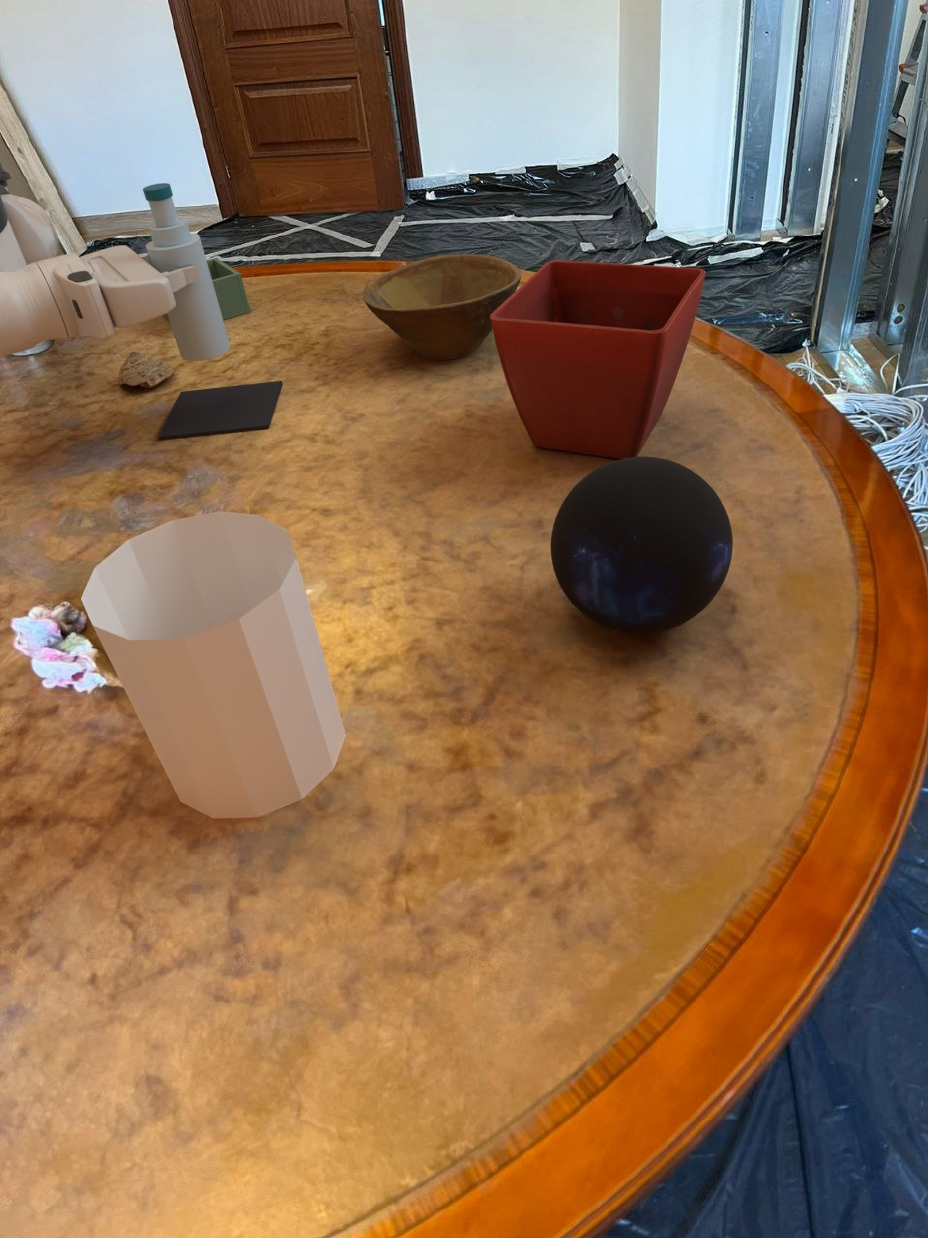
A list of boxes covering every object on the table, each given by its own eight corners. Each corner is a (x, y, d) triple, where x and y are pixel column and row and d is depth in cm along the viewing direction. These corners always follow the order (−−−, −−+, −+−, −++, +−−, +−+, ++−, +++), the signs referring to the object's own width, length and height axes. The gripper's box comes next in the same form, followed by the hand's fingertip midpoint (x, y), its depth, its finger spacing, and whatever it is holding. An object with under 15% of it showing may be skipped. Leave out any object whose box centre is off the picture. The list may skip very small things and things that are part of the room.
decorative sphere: (548, 668, 73) (541, 522, 64) (558, 564, 84) (553, 426, 75) (731, 672, 71) (752, 521, 61) (716, 564, 82) (731, 421, 72)
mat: (158, 440, 114) (157, 437, 114) (181, 394, 125) (180, 391, 125) (268, 428, 114) (268, 425, 113) (282, 383, 124) (281, 380, 124)
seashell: (131, 386, 124) (103, 353, 126) (137, 414, 128) (111, 381, 131) (182, 366, 127) (155, 334, 130) (186, 395, 132) (160, 363, 135)
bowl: (382, 324, 138) (372, 261, 132) (523, 312, 136) (520, 247, 130) (365, 383, 122) (352, 313, 115) (525, 371, 119) (521, 299, 113)
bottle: (176, 363, 112) (121, 196, 99) (187, 343, 117) (136, 182, 104) (225, 357, 112) (177, 190, 99) (234, 338, 117) (189, 176, 104)
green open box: (181, 332, 145) (168, 293, 141) (160, 313, 153) (148, 275, 149) (250, 311, 149) (240, 273, 145) (226, 294, 158) (216, 257, 154)
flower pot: (697, 403, 107) (708, 265, 96) (656, 480, 94) (664, 331, 84) (553, 388, 114) (549, 258, 104) (497, 458, 102) (485, 318, 91)
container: (187, 694, 75) (114, 524, 64) (349, 674, 75) (304, 500, 64) (153, 829, 64) (56, 653, 53) (342, 807, 64) (286, 625, 52)
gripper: (68, 298, 112) (170, 271, 117) (106, 343, 98) (220, 310, 103) (49, 248, 108) (155, 222, 113) (85, 287, 94) (205, 255, 99)
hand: (186, 264), depth 107 cm, fingers closed on bottle, 6 cm apart
